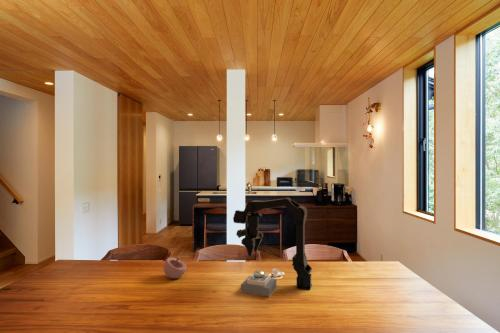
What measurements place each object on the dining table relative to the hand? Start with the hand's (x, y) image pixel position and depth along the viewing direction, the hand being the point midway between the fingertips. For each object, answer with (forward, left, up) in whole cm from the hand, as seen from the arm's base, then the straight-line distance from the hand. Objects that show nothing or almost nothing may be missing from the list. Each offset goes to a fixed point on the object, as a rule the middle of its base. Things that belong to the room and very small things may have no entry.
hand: (252, 253), depth 163 cm
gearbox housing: (-8, +12, -13) cm, 19 cm away
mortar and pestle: (+39, +13, -14) cm, 44 cm away
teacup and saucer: (-13, -7, -14) cm, 20 cm away
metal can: (-8, +12, -13) cm, 19 cm away
